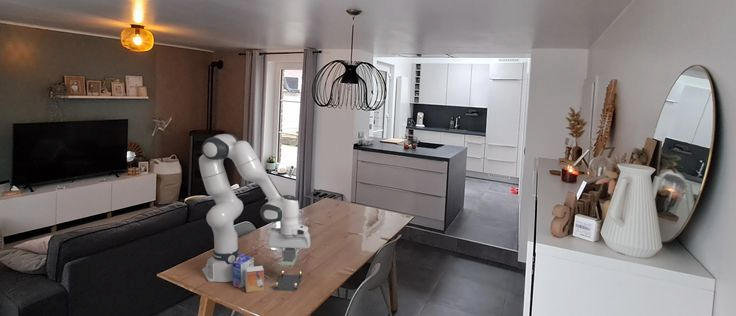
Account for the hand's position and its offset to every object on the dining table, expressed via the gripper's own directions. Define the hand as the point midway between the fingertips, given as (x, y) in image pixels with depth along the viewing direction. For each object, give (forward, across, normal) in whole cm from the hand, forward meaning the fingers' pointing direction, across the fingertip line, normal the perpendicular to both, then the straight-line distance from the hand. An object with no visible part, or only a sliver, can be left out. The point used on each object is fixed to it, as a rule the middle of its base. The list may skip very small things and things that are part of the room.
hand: (289, 255), depth 203 cm
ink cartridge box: (+14, -22, -2) cm, 26 cm away
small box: (+14, -15, -8) cm, 22 cm away
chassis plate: (+14, 0, 0) cm, 14 cm away
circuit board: (+2, 0, 0) cm, 2 cm away
